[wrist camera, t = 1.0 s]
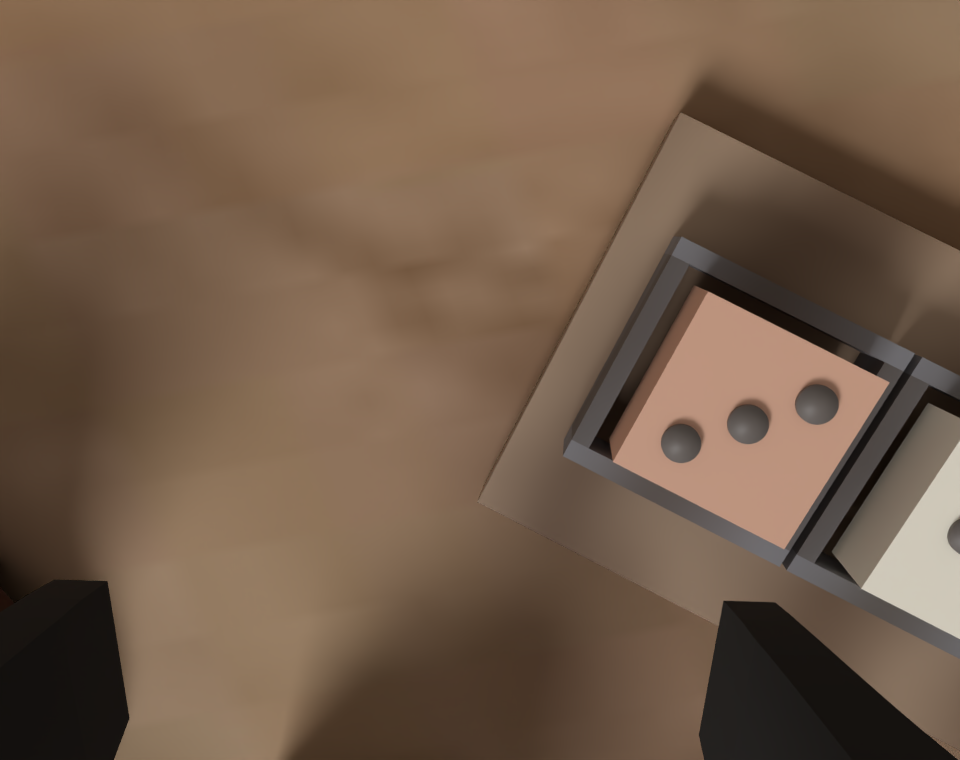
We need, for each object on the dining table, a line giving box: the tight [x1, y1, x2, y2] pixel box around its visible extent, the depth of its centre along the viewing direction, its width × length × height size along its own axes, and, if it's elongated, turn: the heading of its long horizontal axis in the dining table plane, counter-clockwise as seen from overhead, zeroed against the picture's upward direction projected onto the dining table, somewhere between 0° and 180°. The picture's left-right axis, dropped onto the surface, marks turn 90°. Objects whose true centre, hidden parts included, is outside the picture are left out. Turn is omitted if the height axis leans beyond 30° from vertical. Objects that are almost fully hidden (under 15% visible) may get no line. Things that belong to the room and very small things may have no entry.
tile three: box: [609, 285, 890, 549], centre depth 19 cm, size 4×4×2 cm
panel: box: [478, 113, 960, 750], centre depth 21 cm, size 22×12×3 cm, turn 64°
